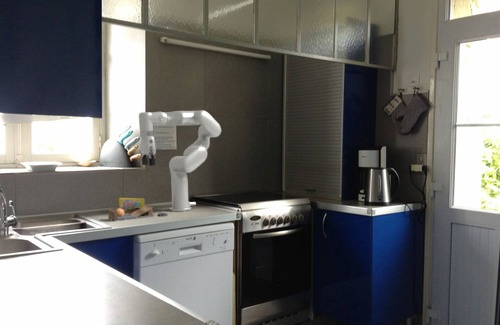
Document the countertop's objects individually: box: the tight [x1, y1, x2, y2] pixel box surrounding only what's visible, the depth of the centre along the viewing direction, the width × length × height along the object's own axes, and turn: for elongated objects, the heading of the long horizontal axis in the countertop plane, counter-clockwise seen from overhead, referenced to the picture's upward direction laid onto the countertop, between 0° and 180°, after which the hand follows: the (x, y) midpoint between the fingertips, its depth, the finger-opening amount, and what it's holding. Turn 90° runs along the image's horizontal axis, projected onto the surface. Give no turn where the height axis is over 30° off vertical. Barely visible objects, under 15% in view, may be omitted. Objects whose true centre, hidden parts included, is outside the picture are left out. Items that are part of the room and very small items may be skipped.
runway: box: [108, 212, 155, 222], centre depth 252 cm, size 22×9×2 cm, turn 126°
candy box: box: [118, 197, 146, 213], centre depth 270 cm, size 16×2×8 cm, turn 71°
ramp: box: [107, 204, 154, 221], centre depth 251 cm, size 22×9×5 cm, turn 126°
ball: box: [115, 207, 125, 217], centre depth 248 cm, size 5×5×5 cm
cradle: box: [157, 212, 168, 217], centre depth 256 cm, size 3×5×1 cm, turn 36°
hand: (148, 165), depth 261 cm, fingers open, 9 cm apart
